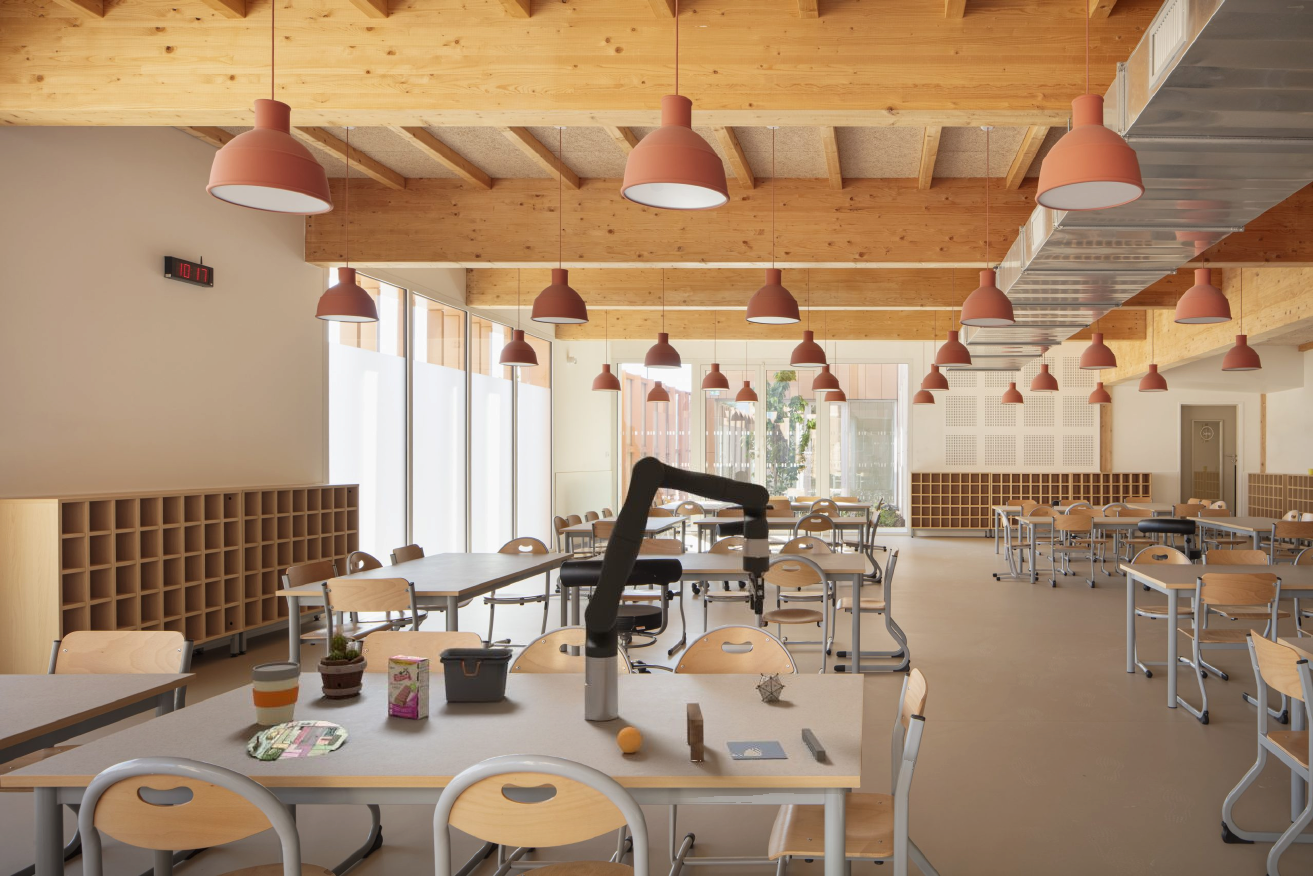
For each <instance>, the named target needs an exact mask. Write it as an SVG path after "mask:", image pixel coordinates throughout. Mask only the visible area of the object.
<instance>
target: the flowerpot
mask: <svg viewBox="0 0 1313 876" xmlns="http://www.w3.org/2000/svg"><path fill="white" fill-rule="evenodd" d="M331 636H332V637H331V638H330V644H329V649H330V653H329V654H330V655H328V656H324V657H321V659H320V661H319V662H318V663H317V667H316V668H317V672H318V673H320V677H321V680H322V684H323V685H321V691H322V693H323V695H324V696H325V698H326V699H334V700H341V699H343V700H344V699H347V698H352V697H354V696H358V695H359V694H360V692H361V691H362V688H363V682H362V679H363V676H364V670H365V669H366V668H368V667H367V666H368V660H367V659H366V658H365V656H363V655H362V654H361V653H360V651H358V649H357V648H355V647H354V646H352V645H350V646H349V640H348V636H345V635H343V632H341V631H336V633H335V632H333V635H331Z"/></svg>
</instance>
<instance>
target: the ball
mask: <svg viewBox="0 0 1313 876" xmlns="http://www.w3.org/2000/svg"><path fill="white" fill-rule="evenodd" d="M616 740H617V741H616V742H617V746H618V748H619V749H620V750H621V751H622V752H624V753H626V754H633V753H636V752H637V751H638V750H639V749H640V748H641V745H642V741H643V737H642V734H641V732H640V731H639V730H638V729H637V728H636V727H633V726H626V727H625V728H622V729H621V730H620V731H619V733H618V736H617V739H616Z"/></svg>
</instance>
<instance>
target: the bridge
mask: <svg viewBox="0 0 1313 876" xmlns="http://www.w3.org/2000/svg"><path fill="white" fill-rule="evenodd" d="M701 710H702V709H701V707H700V703H699V702H694V703H693V702H691V703H690V702H687V703H686V743H688V744H690V746H689V747H690V761H691V760H698V761H697V762H705V760H704V759H705V754H704V753H705V752H704V751H705V750H704V748H705V743H704V738H705V737H704V716H703V714H702V713H703V712H702V711H701ZM688 744H687V745H688ZM700 760H701V761H700Z"/></svg>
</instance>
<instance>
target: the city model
mask: <svg viewBox="0 0 1313 876" xmlns="http://www.w3.org/2000/svg"><path fill="white" fill-rule="evenodd" d="M347 731H348V729H346V728H343V727H341V725H339V724H338V723H336V724H335V723H333V722H330V721H324V720H299V721H291V722H287V723H284V724H279V725H274V726H273V727H271V728H269V729H265V730H263V731H258V732H257V733H256V734H255V735H254V736H253V737H252V738H251V739H250V740H249V741H248V742H247V743H248V745H247V748H248V751H250V752H249V754H251V756H254V757H256V758H258V761H263V762H264V761H273V760H275V761H277V760H282V759H291V758H301V757H302V758H303V757H312V756H321V755H328V753H329V752H331V750H332V751H333V750H334V751H335V750H336V749H339V747H340V746H341V745H342V743H343V742H344V740H345V739H346V738H347V736H348V735H349V733H348V732H347ZM346 732H347V733H346Z"/></svg>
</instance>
